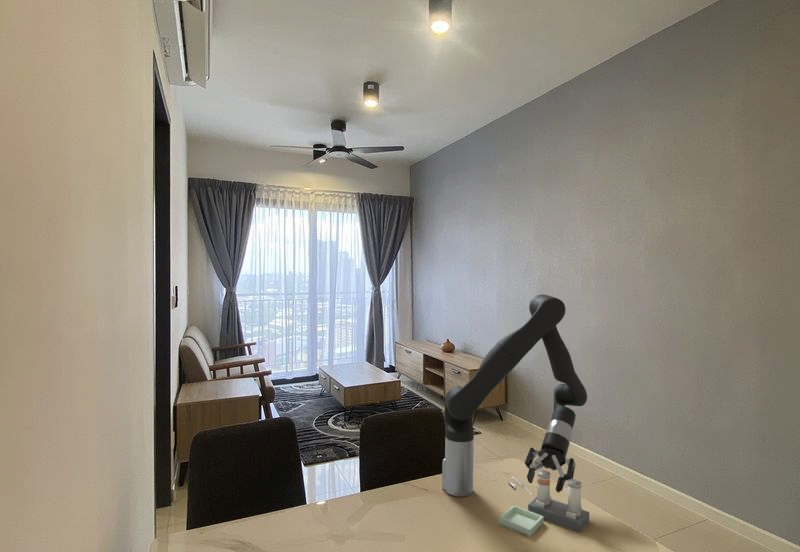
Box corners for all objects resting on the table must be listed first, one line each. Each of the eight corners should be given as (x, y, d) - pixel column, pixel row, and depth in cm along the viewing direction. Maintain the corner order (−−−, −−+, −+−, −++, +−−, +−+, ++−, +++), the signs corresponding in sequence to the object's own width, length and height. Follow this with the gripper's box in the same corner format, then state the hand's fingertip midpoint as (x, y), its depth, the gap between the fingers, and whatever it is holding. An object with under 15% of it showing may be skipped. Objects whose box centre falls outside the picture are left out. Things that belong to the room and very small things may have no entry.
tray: (498, 524, 120) (498, 517, 120) (513, 511, 127) (513, 505, 127) (530, 537, 114) (530, 530, 114) (543, 523, 121) (543, 516, 122)
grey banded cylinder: (535, 503, 128) (535, 472, 128) (539, 498, 131) (540, 469, 131) (547, 507, 126) (547, 476, 126) (551, 502, 128) (551, 472, 128)
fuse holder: (528, 513, 127) (528, 500, 127) (538, 502, 133) (539, 490, 133) (580, 532, 117) (580, 519, 117) (589, 520, 123) (589, 507, 123)
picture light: (533, 497, 138) (533, 490, 138) (521, 498, 137) (521, 491, 137) (513, 477, 151) (513, 471, 151) (501, 478, 150) (501, 472, 150)
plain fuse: (565, 514, 122) (565, 482, 122) (569, 509, 125) (570, 478, 125) (578, 518, 120) (578, 486, 120) (582, 513, 122) (583, 481, 123)
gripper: (532, 426, 140) (517, 473, 131) (577, 437, 130) (564, 488, 121) (539, 438, 144) (524, 485, 135) (583, 449, 134) (570, 500, 125)
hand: (543, 486), depth 128 cm, fingers open, 8 cm apart
